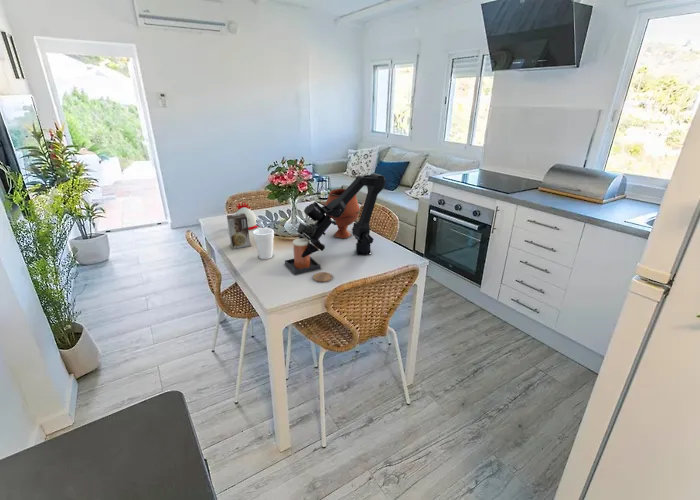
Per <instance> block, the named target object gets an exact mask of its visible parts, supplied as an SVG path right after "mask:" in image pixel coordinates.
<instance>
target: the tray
mask: <svg viewBox="0 0 700 500" xmlns="http://www.w3.org/2000/svg"><path fill="white" fill-rule="evenodd" d="M284 265H285V266H286V267H287V268H288V269H289V270H290V271H291V273H293V275H296V276H297V275H301V274H304V273H309V272H312V271H317V270H320V269H321V264H320V263H319V262H317V261H316V260H315V259H314V258H313V257H312V256H310V267H307V268H303V269H297V268H295V266H294V258H289V259H286V260H285V259H284Z"/></svg>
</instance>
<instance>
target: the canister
mask: <svg viewBox="0 0 700 500" xmlns="http://www.w3.org/2000/svg"><path fill="white" fill-rule="evenodd" d="M308 242H309V243H311V242H310V240H308V239H304V238H300V239H299V238H296V239H293V240H292V246H293V259H294V266H295V268H297V269H303V268H307V267H310V257H311V254H310V255H308V256H306V257H302V254H303V253H304V251H305V250H306V248H307V247H308Z"/></svg>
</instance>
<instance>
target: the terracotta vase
mask: <svg viewBox="0 0 700 500" xmlns="http://www.w3.org/2000/svg"><path fill="white" fill-rule="evenodd" d="M346 189H347V188H336V189H335V188H334V189H332V190H329V191H328V196H327V199H326V201H325V205H324V206H326V205H327V204H328V203H330V202H331V201H332V200H334V199H336V198H338V197H339V196H340V195H341V194H342V193H343V192H344V191H345V190H346ZM324 215H327V214H326V213H324ZM359 215H360V204H359V202H358V199H357V194H356V195H355V196H354V197H353V198H352V199H351V200H350V201H349V202H348V203H347V205H346V208H345V210H344V212H343V213H342V215H341V216H340V217H338V218H335V217H333V216H330V217H331V218H334V219H336V220H335V221H336V225H335V226H337V230H336V232H335V233H334V237H335V238H338V239H347V238H350V237H351V233H350V232H349V231H348V228H349V226H350V225H353V224H354V223H355V222H356V221H357V219H358V218H359Z"/></svg>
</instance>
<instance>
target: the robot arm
mask: <svg viewBox="0 0 700 500" xmlns="http://www.w3.org/2000/svg"><path fill="white" fill-rule="evenodd" d="M386 181H387V180H386V178H385V176H384V175H381V174H378V173H375V172H373V173H370V174H365V175H357V176H355V179H354V180H353V181H352V182H351V184H349V186H348V187H347V188H345V189H346V190H345V191H344V192H343V193H342V194H341V195H340V196H339V197H338V198H336V199H334V200H332V201H331V202H330V203H328V204H327V205H326V206H325V205H323V206H320V204H319V203H318V202H316V201H314V202H312V203H310V204H309V205H307V206H306V207H305V209H304V214H305V215H306V216H307V217H308V218H310V219H311V220H312V221H314V222H315V223H310V224H306V223H303V222H299V224H298V227H297V230H296V232H297V233H298V234H297V235H298V239H300V238H304V239H308V240H309V241H310V243H309V242H308V247H307V248H306V250H305V251H304V253H303V254H302V257H306V256H308V255H310V256H311V255H312V254H314V253H316V252H320V251H321V252H323V251H325V249H326V245H325V244H324V243H322V242H321V240H320V238H321V237H322V236H325V235H326V231H327V230H328V229H329V227H330V226H331V225H333V226H337V225H336V221H335V220H336V219H334V218H331V217H330V216H333V217H335V218H338V217H340V216H341V215H342V213H343V212H344V210H345V208H346V205H347V203H348V202H349V201H350V200H351V199H352V198H353V197H354V196H355V195H356V196H357V194H358V193H359V192H360V191H361V189H363V187H364V186H365V187H367V193H366V196H365V200H364V203H363V206H362V211H361V214H360V217H359V220H358V221H357V222H353V224H352V225H353V226H352V228H351V232H352V236H353V237H354V238H355V240H356V243H355V252H356V253H357V255H358V256H365V255H366V256H371V255H372V254H371V253H372V252H371V244H373V242H374V237H373V236H371V235H370V233H371V227H370V222H371V218H372V215H373V211H374V208H375V205H376V202H377V198H378V195H379V194H380V193H381V192H382V191H383V190H384V186H385V185H386ZM325 213H326V214H327V215H326V214H325Z"/></svg>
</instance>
